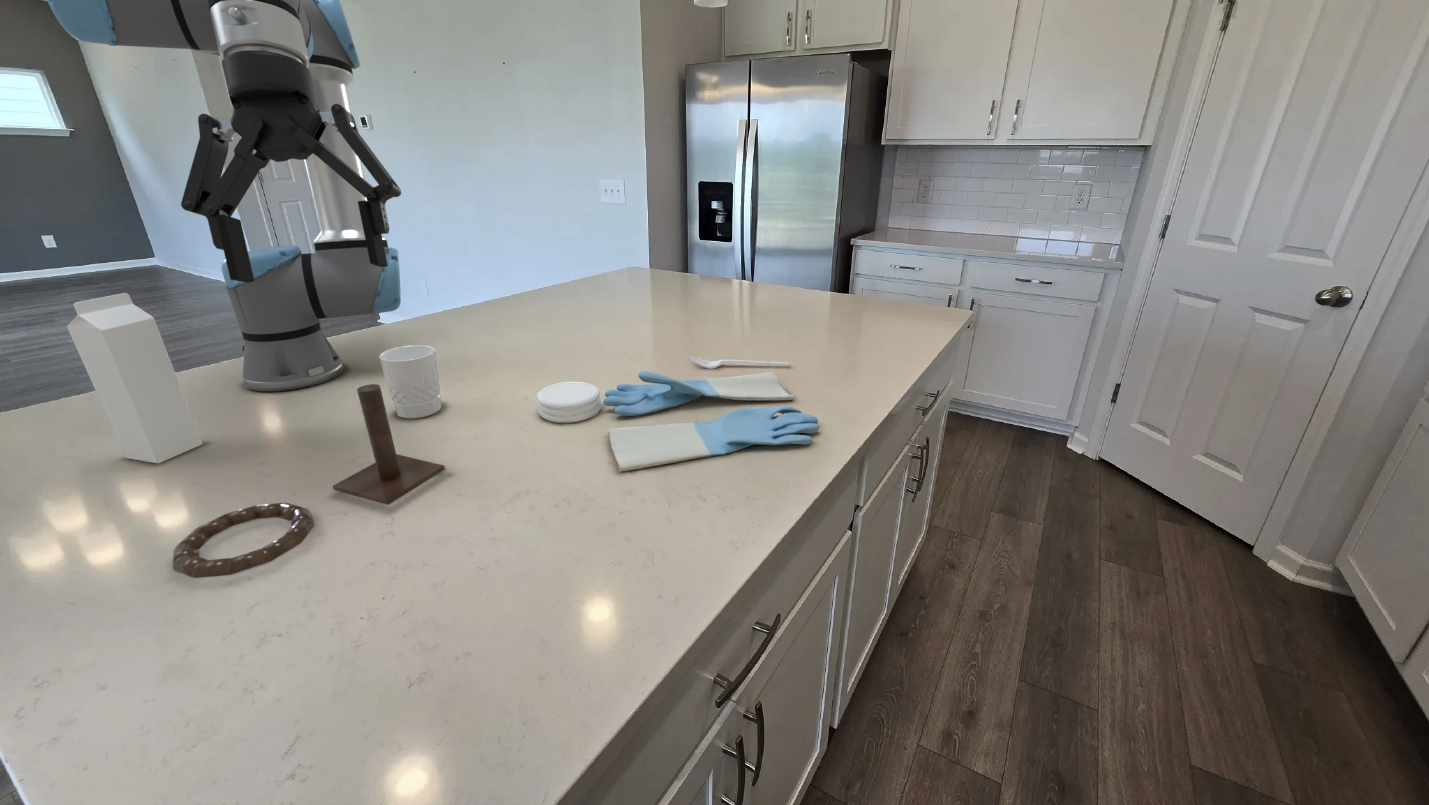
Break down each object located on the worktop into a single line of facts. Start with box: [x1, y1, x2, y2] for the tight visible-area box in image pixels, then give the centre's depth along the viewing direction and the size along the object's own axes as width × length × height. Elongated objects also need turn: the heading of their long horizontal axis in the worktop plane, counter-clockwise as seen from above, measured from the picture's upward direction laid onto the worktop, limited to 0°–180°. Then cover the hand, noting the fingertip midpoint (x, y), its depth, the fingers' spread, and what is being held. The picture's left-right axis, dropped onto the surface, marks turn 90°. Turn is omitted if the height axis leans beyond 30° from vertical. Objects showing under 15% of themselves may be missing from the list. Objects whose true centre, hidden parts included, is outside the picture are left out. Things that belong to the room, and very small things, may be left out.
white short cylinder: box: [536, 380, 602, 424], centre depth 95 cm, size 10×10×4 cm
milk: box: [66, 292, 203, 464], centre depth 78 cm, size 6×6×22 cm
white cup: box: [378, 344, 443, 419], centre depth 94 cm, size 8×8×10 cm
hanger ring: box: [172, 502, 315, 579], centre depth 63 cm, size 12×12×2 cm
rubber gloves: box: [602, 370, 820, 472], centre depth 93 cm, size 27×33×6 cm
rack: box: [332, 383, 446, 505], centre depth 72 cm, size 9×9×14 cm
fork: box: [688, 354, 791, 370], centre depth 116 cm, size 3×20×2 cm, turn 89°
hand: (312, 273), depth 62 cm, fingers open, 13 cm apart
